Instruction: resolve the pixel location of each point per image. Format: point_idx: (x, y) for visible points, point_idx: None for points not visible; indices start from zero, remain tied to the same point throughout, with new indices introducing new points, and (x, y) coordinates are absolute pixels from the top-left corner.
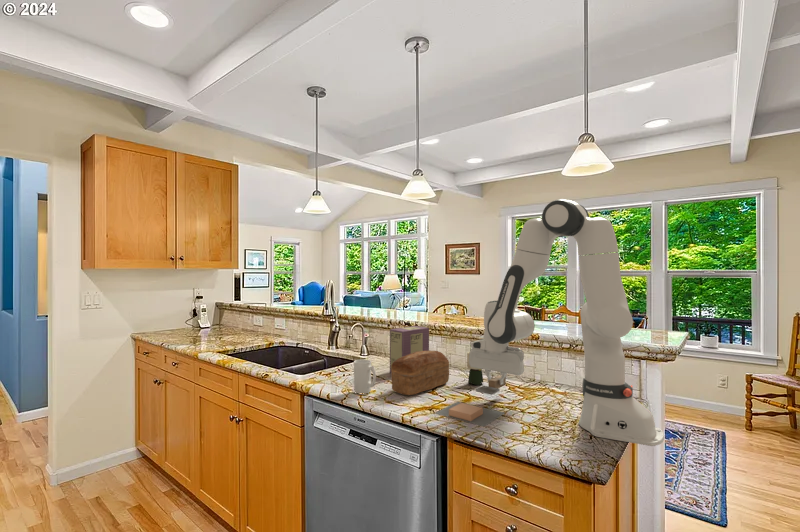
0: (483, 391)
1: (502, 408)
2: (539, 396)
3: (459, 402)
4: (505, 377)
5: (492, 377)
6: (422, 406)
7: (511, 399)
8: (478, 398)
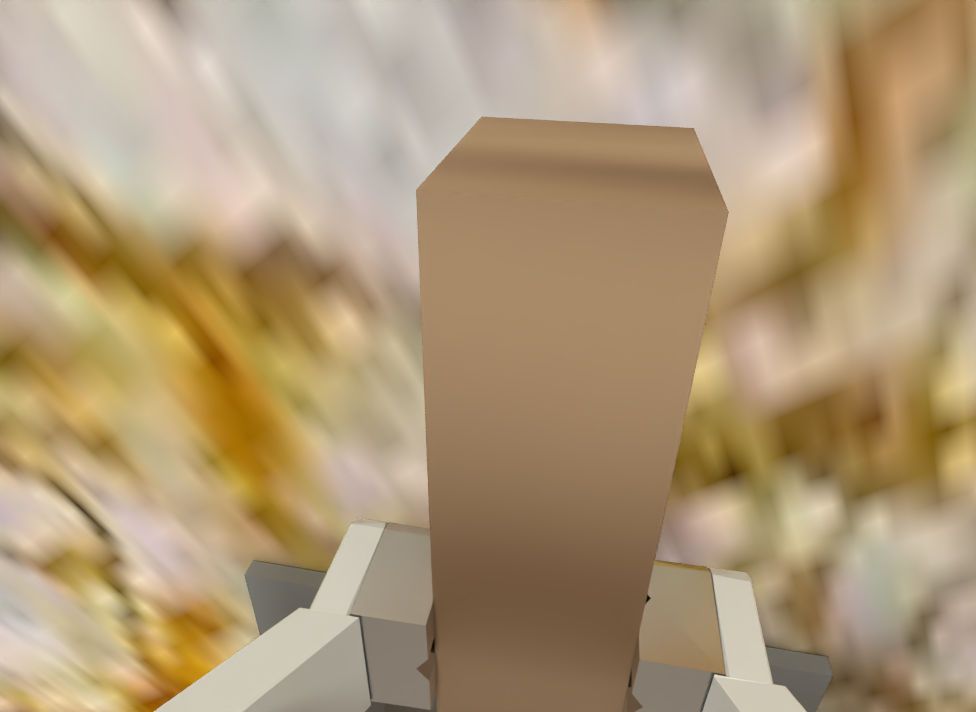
0: None
1: (747, 511)
2: None
3: (272, 588)
4: (719, 221)
5: (425, 658)
6: (123, 698)
7: (798, 28)
8: (301, 310)
